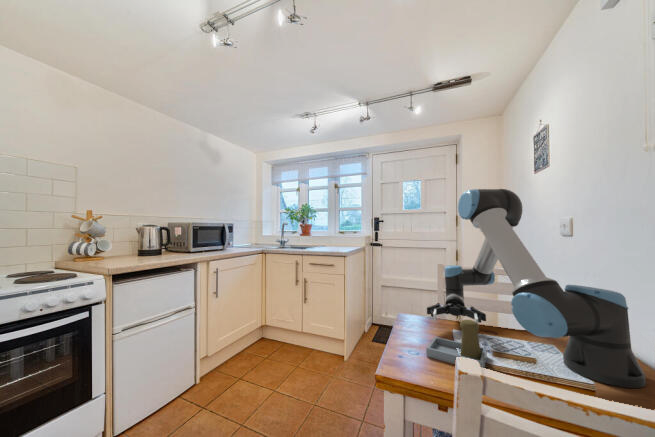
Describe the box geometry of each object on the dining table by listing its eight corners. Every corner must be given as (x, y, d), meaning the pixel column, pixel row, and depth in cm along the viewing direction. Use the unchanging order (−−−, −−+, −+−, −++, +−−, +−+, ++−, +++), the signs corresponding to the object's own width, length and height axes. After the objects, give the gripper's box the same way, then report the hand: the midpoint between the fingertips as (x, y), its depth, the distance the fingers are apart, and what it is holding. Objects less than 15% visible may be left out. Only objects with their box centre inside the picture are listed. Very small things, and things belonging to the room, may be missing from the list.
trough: (487, 356, 77) (486, 348, 77) (483, 372, 69) (483, 362, 69) (435, 344, 87) (434, 336, 87) (426, 356, 78) (426, 348, 78)
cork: (487, 359, 74) (484, 322, 75) (473, 363, 72) (470, 325, 73) (469, 350, 80) (467, 316, 81) (456, 354, 78) (453, 319, 79)
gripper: (489, 317, 100) (497, 337, 81) (424, 310, 111) (418, 325, 92) (488, 298, 100) (496, 314, 81) (423, 293, 112) (417, 305, 93)
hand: (454, 320), depth 87 cm, fingers open, 13 cm apart
